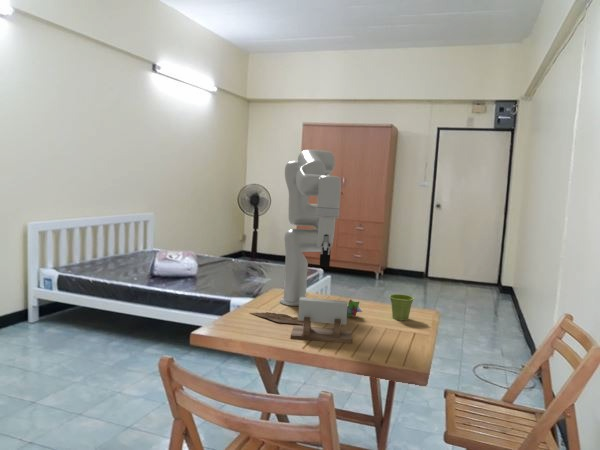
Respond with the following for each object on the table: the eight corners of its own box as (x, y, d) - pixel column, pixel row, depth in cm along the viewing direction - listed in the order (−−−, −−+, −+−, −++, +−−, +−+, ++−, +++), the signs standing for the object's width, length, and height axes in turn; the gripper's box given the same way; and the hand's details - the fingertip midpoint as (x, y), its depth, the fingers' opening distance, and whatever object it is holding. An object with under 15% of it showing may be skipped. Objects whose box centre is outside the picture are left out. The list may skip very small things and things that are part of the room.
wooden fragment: (317, 323, 176) (317, 320, 176) (302, 330, 166) (303, 327, 166) (260, 310, 189) (260, 308, 188) (243, 316, 179) (243, 313, 179)
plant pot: (406, 323, 180) (407, 301, 180) (383, 318, 186) (385, 296, 185) (416, 318, 188) (418, 297, 187) (394, 313, 194) (396, 293, 193)
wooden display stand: (293, 328, 167) (294, 308, 166) (350, 332, 165) (352, 313, 165) (290, 338, 156) (291, 317, 155) (351, 343, 154) (353, 322, 154)
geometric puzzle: (366, 314, 182) (361, 295, 186) (350, 315, 179) (346, 296, 183) (358, 321, 187) (354, 302, 191) (343, 322, 185) (338, 303, 189)
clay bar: (299, 317, 163) (300, 297, 163) (346, 321, 161) (347, 301, 161) (298, 320, 159) (299, 299, 159) (346, 324, 157) (347, 303, 157)
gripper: (317, 211, 166) (314, 259, 168) (315, 214, 149) (312, 267, 151) (339, 212, 166) (336, 260, 167) (339, 215, 149) (336, 269, 150)
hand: (324, 264), depth 159 cm, fingers open, 9 cm apart
